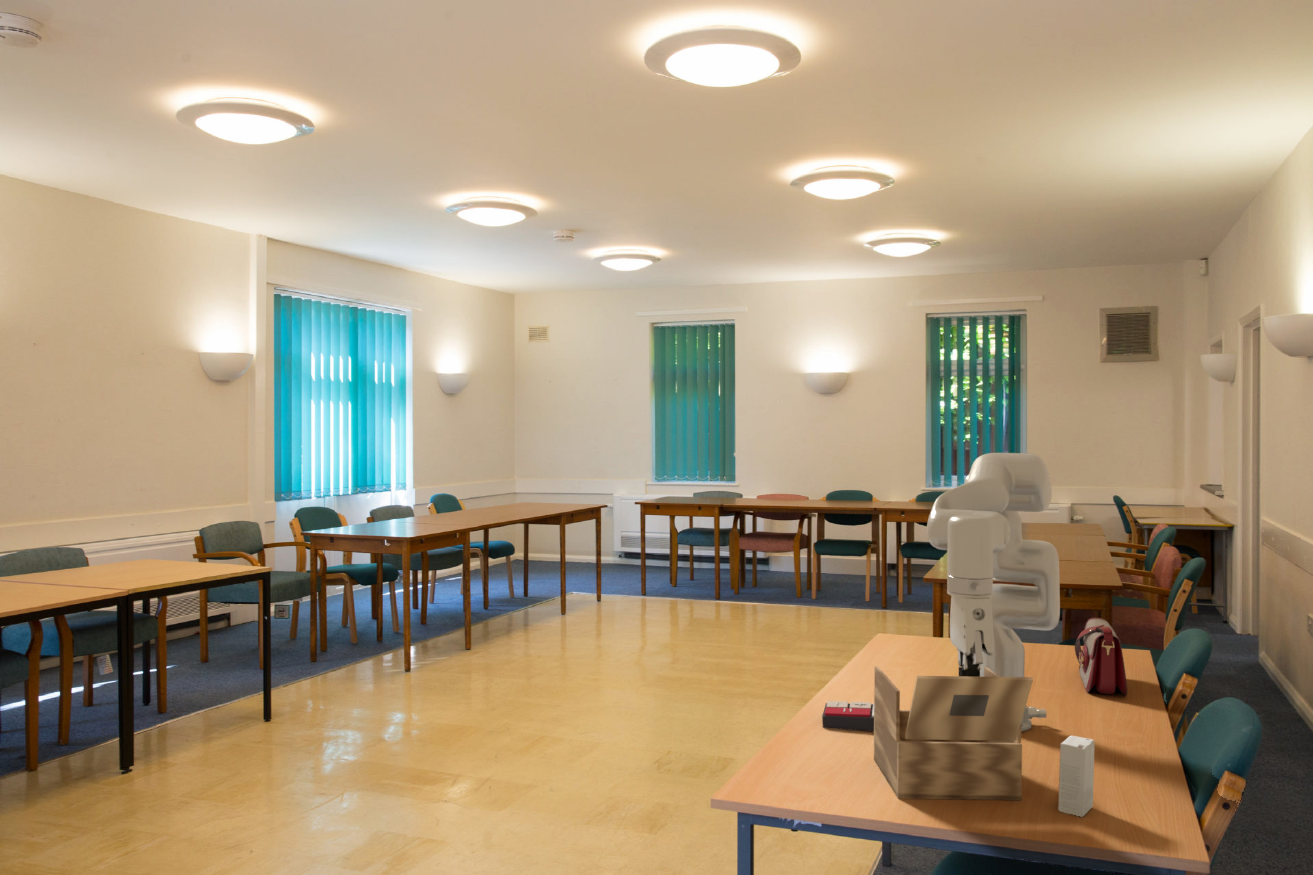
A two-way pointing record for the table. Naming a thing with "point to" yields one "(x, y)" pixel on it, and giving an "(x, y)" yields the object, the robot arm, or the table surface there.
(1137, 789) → the table surface
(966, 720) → the carton flap
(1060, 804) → the skincare box
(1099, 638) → the handbag
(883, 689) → the carton
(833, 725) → the calculator
